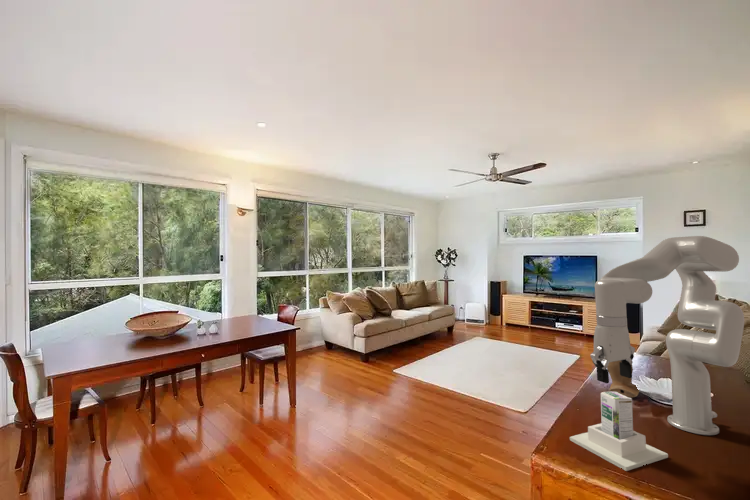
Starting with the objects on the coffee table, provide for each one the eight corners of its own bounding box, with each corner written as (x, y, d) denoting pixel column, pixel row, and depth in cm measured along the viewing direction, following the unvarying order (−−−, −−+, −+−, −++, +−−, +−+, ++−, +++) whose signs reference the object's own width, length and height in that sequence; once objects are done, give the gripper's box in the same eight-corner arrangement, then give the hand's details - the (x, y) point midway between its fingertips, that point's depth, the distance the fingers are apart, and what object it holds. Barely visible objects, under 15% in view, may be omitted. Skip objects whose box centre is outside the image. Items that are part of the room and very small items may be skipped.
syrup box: (601, 440, 104) (599, 391, 104) (618, 438, 105) (616, 390, 105) (616, 450, 98) (614, 399, 99) (635, 448, 99) (632, 397, 100)
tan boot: (608, 383, 154) (607, 349, 154) (642, 390, 146) (640, 354, 146) (601, 393, 143) (600, 357, 143) (637, 401, 135) (635, 362, 135)
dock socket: (608, 430, 112) (607, 414, 112) (668, 457, 96) (667, 439, 97) (569, 440, 106) (569, 423, 107) (626, 471, 91) (625, 451, 91)
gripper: (618, 317, 109) (622, 371, 109) (578, 322, 103) (582, 379, 103) (644, 320, 102) (647, 378, 102) (603, 326, 96) (606, 388, 96)
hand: (614, 379), depth 102 cm, fingers open, 9 cm apart
